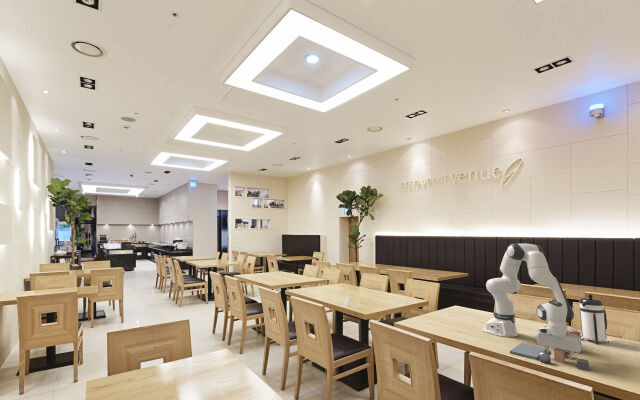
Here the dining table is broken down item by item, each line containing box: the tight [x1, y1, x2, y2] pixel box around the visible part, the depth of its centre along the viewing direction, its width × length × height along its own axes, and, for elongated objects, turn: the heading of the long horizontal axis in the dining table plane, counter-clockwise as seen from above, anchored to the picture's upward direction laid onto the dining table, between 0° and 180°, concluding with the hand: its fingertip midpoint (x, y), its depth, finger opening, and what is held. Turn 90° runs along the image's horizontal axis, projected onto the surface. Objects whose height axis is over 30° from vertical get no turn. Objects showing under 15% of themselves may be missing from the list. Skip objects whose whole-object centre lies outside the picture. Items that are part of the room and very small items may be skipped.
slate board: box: [509, 342, 547, 361], centre depth 198 cm, size 14×20×2 cm
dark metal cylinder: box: [539, 351, 552, 365], centre depth 184 cm, size 5×5×5 cm
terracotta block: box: [553, 348, 566, 364], centre depth 185 cm, size 4×4×6 cm
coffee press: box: [578, 293, 610, 346], centre depth 218 cm, size 17×16×30 cm
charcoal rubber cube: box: [575, 357, 591, 372], centre depth 175 cm, size 5×5×4 cm
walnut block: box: [564, 350, 571, 360], centre depth 191 cm, size 5×5×4 cm
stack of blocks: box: [566, 325, 583, 353], centre depth 208 cm, size 21×6×12 cm, turn 170°
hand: (559, 356), depth 185 cm, fingers open, 8 cm apart
